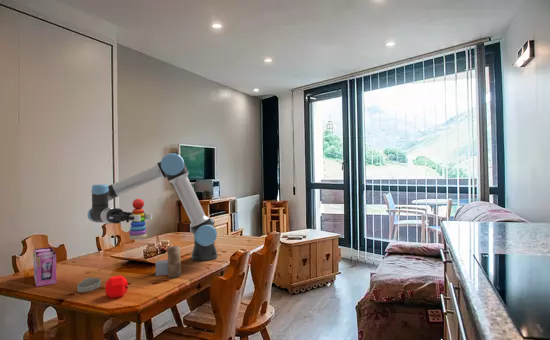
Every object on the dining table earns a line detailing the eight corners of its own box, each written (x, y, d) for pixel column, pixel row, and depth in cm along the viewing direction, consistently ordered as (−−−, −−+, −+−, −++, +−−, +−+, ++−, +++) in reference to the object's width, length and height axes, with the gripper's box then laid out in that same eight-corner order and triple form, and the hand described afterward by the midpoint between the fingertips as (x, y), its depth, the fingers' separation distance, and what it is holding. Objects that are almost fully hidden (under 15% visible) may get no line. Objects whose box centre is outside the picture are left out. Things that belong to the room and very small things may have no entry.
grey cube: (168, 271, 167) (168, 259, 167) (168, 274, 161) (168, 262, 161) (156, 272, 165) (156, 260, 165) (155, 276, 159) (155, 263, 159)
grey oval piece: (98, 285, 147) (98, 274, 147) (102, 288, 142) (102, 277, 143) (75, 290, 141) (75, 279, 141) (79, 294, 136) (79, 282, 136)
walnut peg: (180, 273, 162) (180, 245, 162) (181, 277, 156) (180, 248, 156) (168, 275, 160) (167, 246, 160) (168, 278, 154) (167, 249, 154)
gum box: (57, 284, 150) (57, 254, 150) (36, 288, 145) (35, 257, 145) (52, 272, 169) (52, 246, 169) (33, 275, 164) (33, 249, 164)
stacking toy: (140, 240, 149) (139, 199, 149) (125, 239, 150) (124, 199, 150) (150, 236, 157) (149, 197, 157) (135, 236, 158) (134, 198, 158)
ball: (128, 297, 132) (127, 278, 132) (106, 301, 128) (105, 281, 128) (126, 291, 139) (126, 273, 139) (105, 294, 135) (105, 276, 135)
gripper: (129, 220, 170) (161, 222, 160) (95, 225, 153) (128, 228, 143) (129, 206, 170) (161, 207, 160) (94, 210, 154) (128, 211, 143)
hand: (145, 217), depth 151 cm, fingers closed on stacking toy, 6 cm apart
